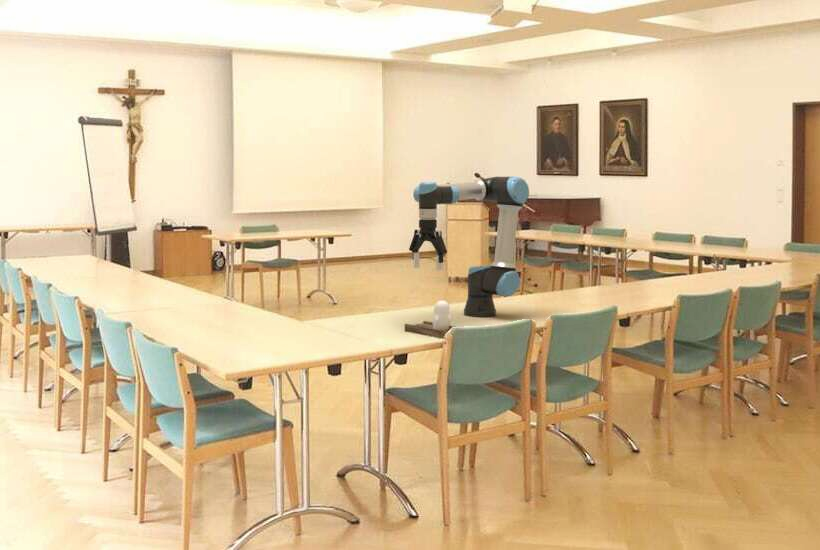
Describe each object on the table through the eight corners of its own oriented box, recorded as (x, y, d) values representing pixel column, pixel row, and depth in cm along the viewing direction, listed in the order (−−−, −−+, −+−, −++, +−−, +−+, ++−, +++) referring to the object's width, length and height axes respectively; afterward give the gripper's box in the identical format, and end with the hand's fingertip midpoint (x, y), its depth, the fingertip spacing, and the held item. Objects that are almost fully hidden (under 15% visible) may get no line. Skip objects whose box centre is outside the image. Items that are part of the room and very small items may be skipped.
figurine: (435, 331, 361) (436, 302, 360) (430, 328, 369) (430, 299, 367) (452, 330, 363) (452, 301, 362) (446, 327, 371) (446, 298, 369)
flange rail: (424, 327, 382) (424, 319, 381) (461, 335, 366) (461, 326, 365) (404, 330, 374) (404, 322, 374) (441, 338, 358) (441, 329, 357)
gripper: (400, 218, 382) (401, 267, 385) (443, 220, 365) (443, 272, 367) (413, 217, 388) (413, 265, 390) (455, 219, 370) (455, 270, 373)
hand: (427, 269), depth 379 cm, fingers open, 13 cm apart
